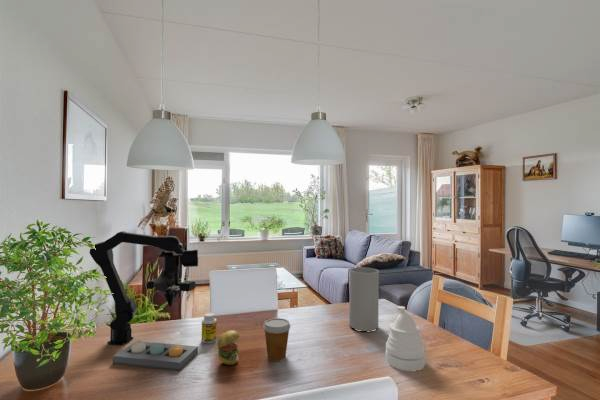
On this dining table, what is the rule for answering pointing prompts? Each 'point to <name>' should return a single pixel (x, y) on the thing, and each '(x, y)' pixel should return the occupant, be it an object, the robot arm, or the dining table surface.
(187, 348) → the panel
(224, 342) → the hamburger
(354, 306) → the cylinder vase
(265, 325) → the disposable coffee cup
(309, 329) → the dining table surface
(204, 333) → the supplement bottle
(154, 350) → the teal button
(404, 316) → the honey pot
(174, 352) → the orange button
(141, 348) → the ivory button
